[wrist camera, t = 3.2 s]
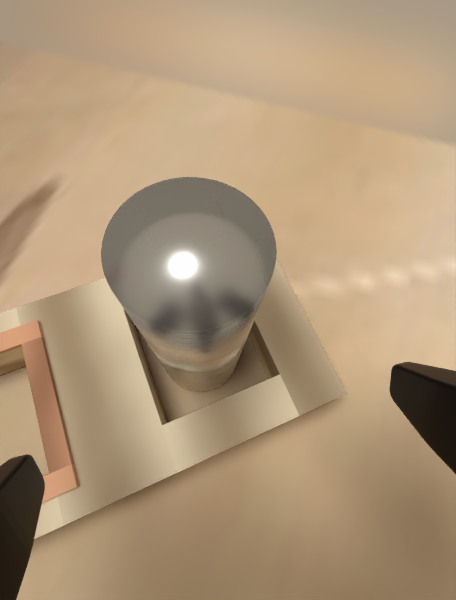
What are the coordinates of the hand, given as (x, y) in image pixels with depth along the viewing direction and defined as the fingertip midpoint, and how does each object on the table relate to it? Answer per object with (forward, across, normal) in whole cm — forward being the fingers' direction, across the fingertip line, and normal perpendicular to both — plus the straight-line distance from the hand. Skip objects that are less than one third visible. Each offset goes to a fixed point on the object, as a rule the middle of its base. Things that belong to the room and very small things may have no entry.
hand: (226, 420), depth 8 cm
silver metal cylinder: (+12, 0, -6) cm, 13 cm away
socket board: (+11, -6, -6) cm, 14 cm away
